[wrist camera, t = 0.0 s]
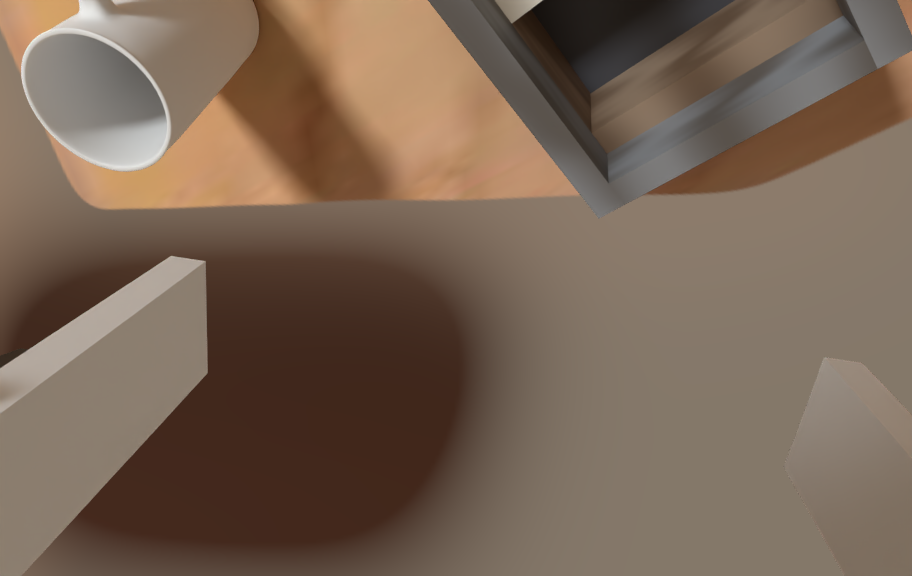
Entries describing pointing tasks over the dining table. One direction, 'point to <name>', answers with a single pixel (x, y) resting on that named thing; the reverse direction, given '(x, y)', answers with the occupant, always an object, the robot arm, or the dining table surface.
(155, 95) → the mug
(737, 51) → the track
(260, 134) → the dining table surface
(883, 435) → the robot arm
